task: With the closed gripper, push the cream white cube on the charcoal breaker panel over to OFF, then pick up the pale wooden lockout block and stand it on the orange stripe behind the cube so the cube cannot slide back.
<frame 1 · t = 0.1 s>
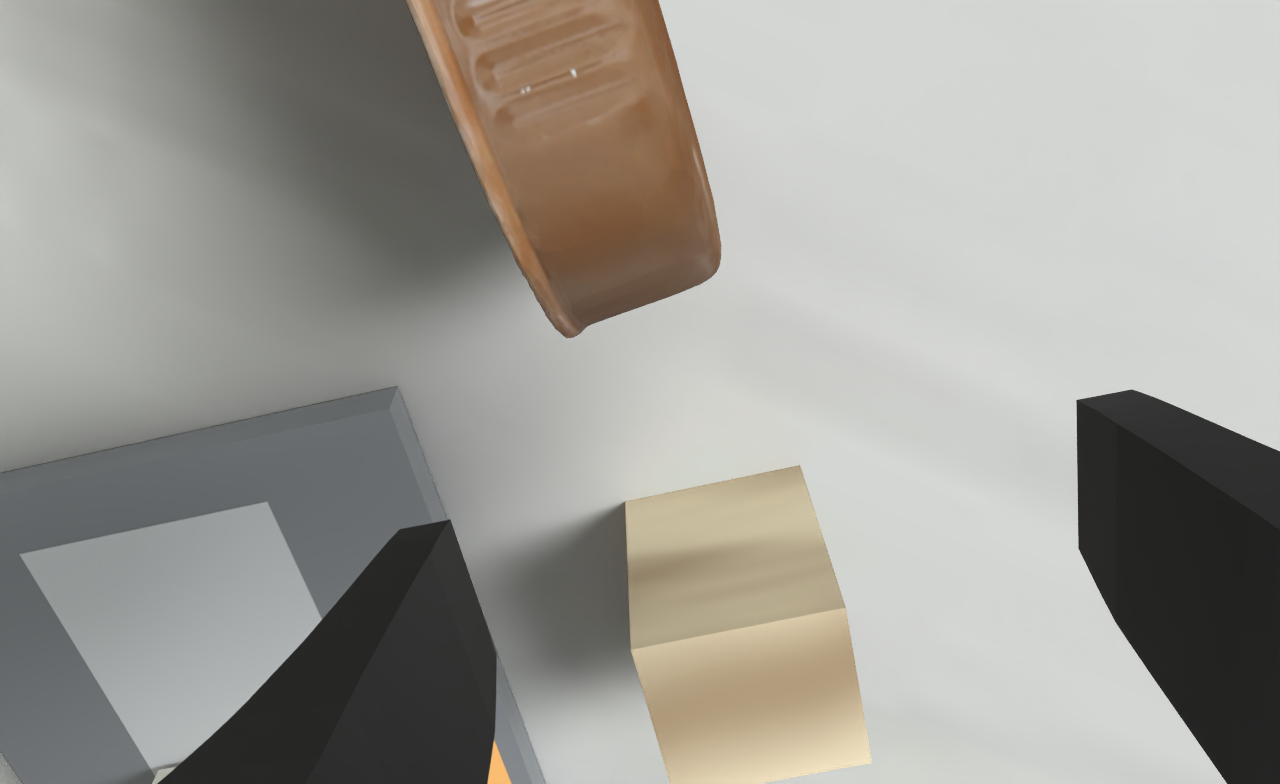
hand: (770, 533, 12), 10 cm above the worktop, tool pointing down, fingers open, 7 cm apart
breaker panel: (278, 728, 27), on the worktop
lockout block: (727, 553, 25), on the worktop
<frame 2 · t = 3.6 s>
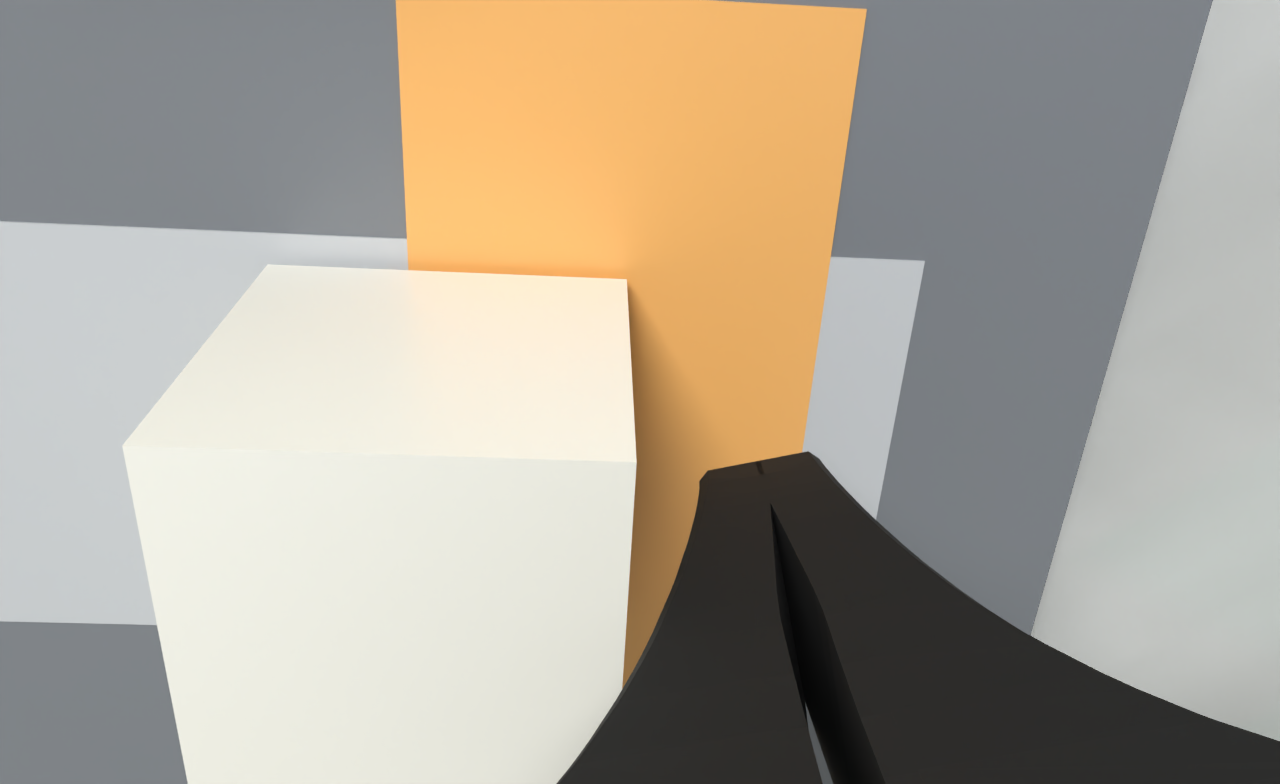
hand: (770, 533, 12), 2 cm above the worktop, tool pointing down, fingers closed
breaker panel: (421, 414, 14), on the worktop
cream white cube: (430, 560, 11), point 3 cm above the worktop, slide at 0.9 cm, touching gripper
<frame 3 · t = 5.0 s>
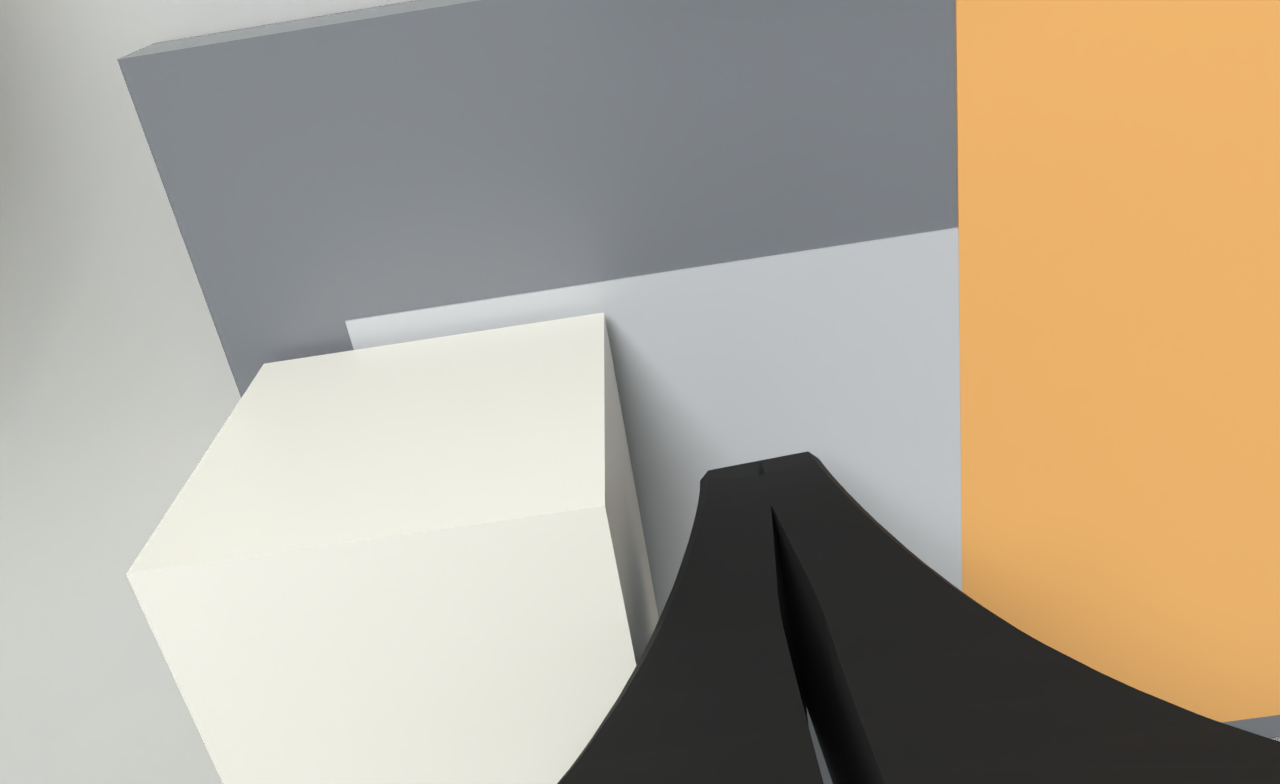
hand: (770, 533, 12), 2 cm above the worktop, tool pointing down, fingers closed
breaker panel: (930, 402, 14), on the worktop
cream white cube: (461, 619, 12), point 3 cm above the worktop, slide at 7.5 cm, touching gripper
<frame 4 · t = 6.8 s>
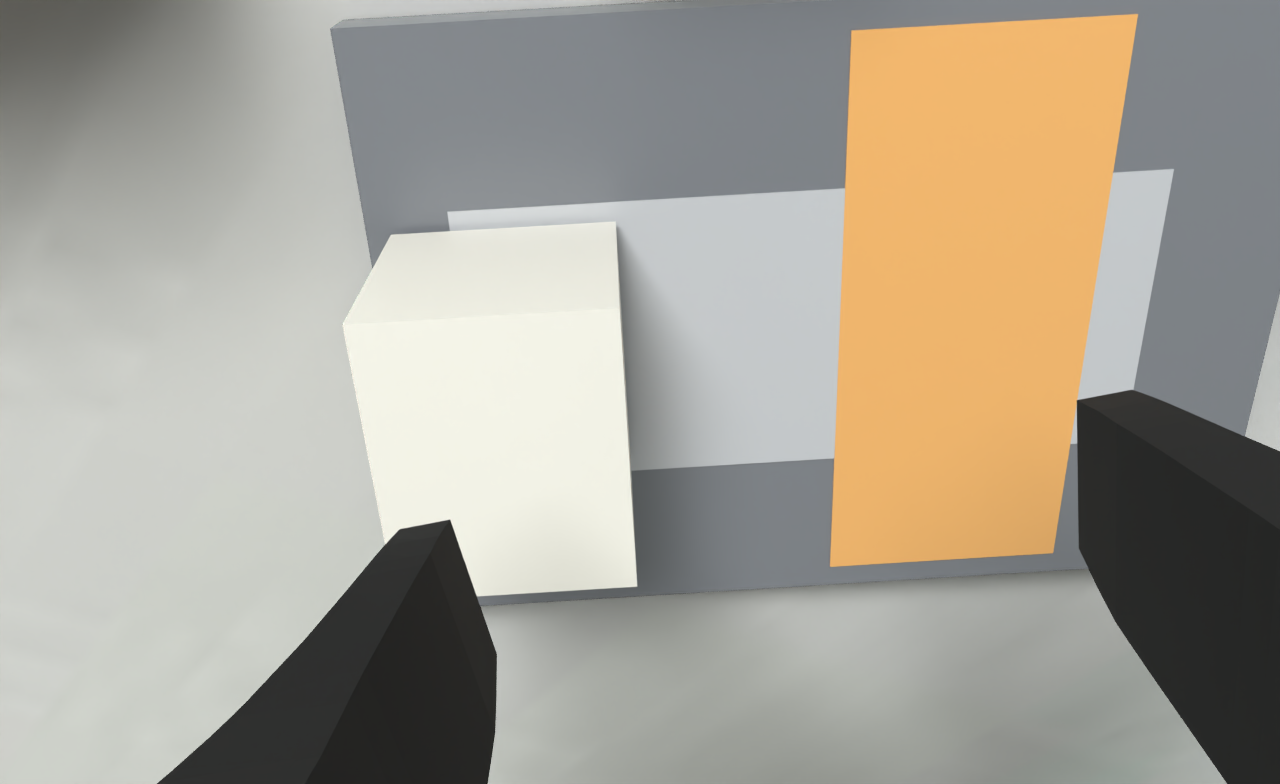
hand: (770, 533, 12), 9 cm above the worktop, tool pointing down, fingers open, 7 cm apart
breaker panel: (823, 311, 21), on the worktop
cream white cube: (509, 404, 18), point 3 cm above the worktop, slide at 7.5 cm
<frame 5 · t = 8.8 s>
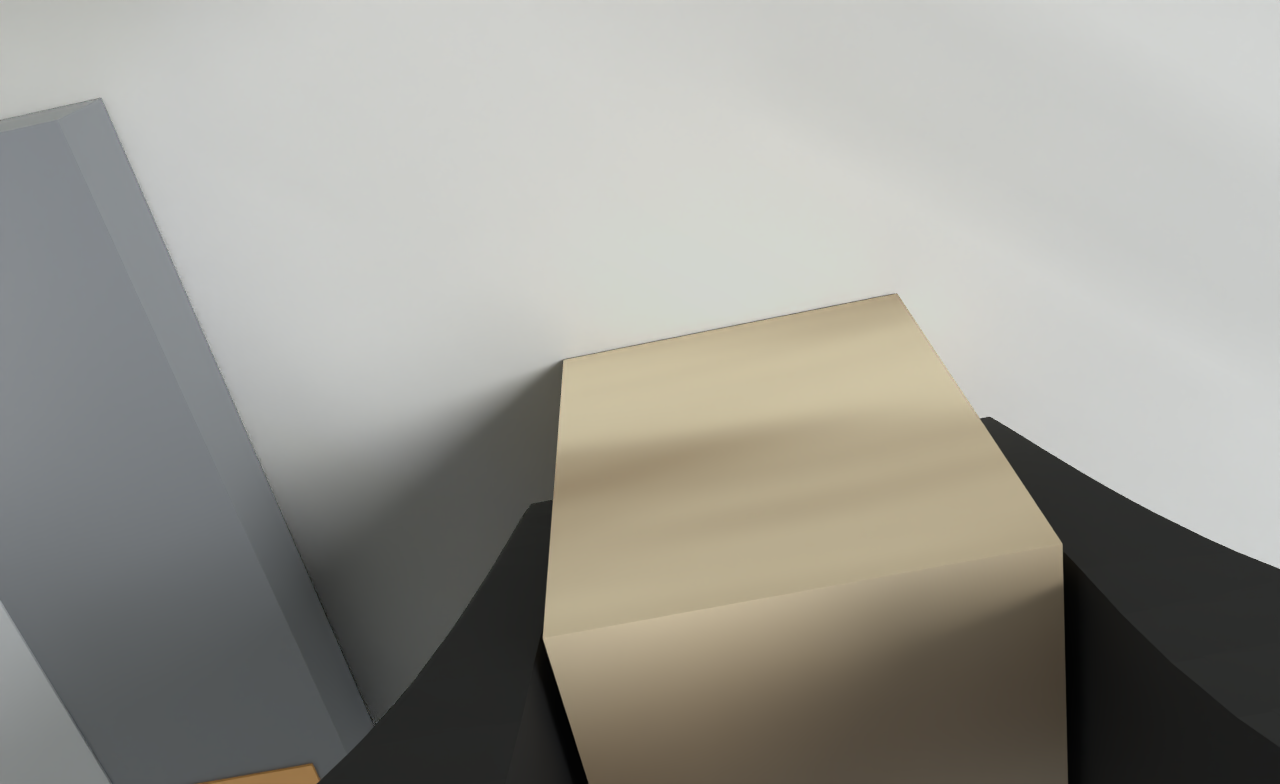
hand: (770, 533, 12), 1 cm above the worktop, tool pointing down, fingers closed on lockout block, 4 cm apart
lockout block: (754, 468, 13), on the worktop, touching gripper
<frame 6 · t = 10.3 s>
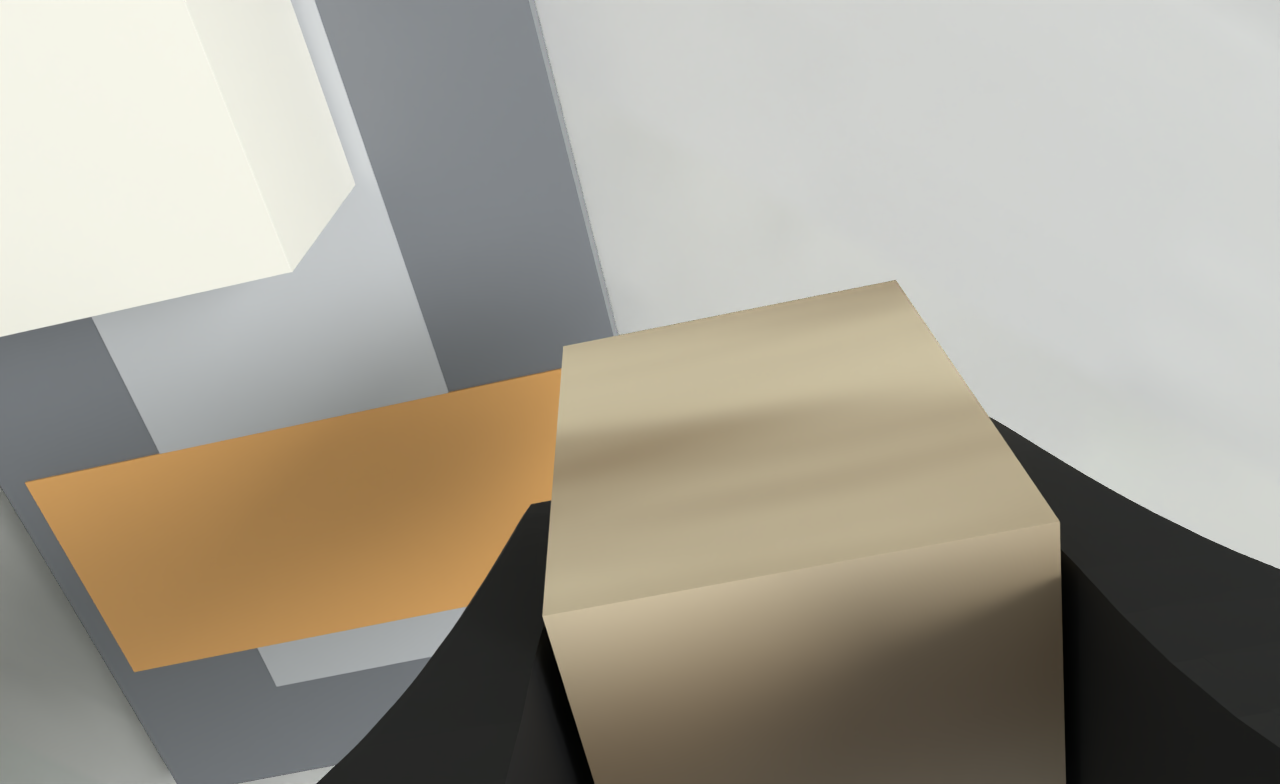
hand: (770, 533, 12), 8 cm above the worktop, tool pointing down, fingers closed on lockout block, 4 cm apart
breaker panel: (314, 393, 20), on the worktop
cream white cube: (108, 128, 15), point 3 cm above the worktop, slide at 7.5 cm
lockout block: (753, 455, 13), point 7 cm above the worktop, touching gripper
when the fingers open (4 cm above the worktop, at t = 12.1 s): lockout block drops 1 cm, resting on breaker panel.
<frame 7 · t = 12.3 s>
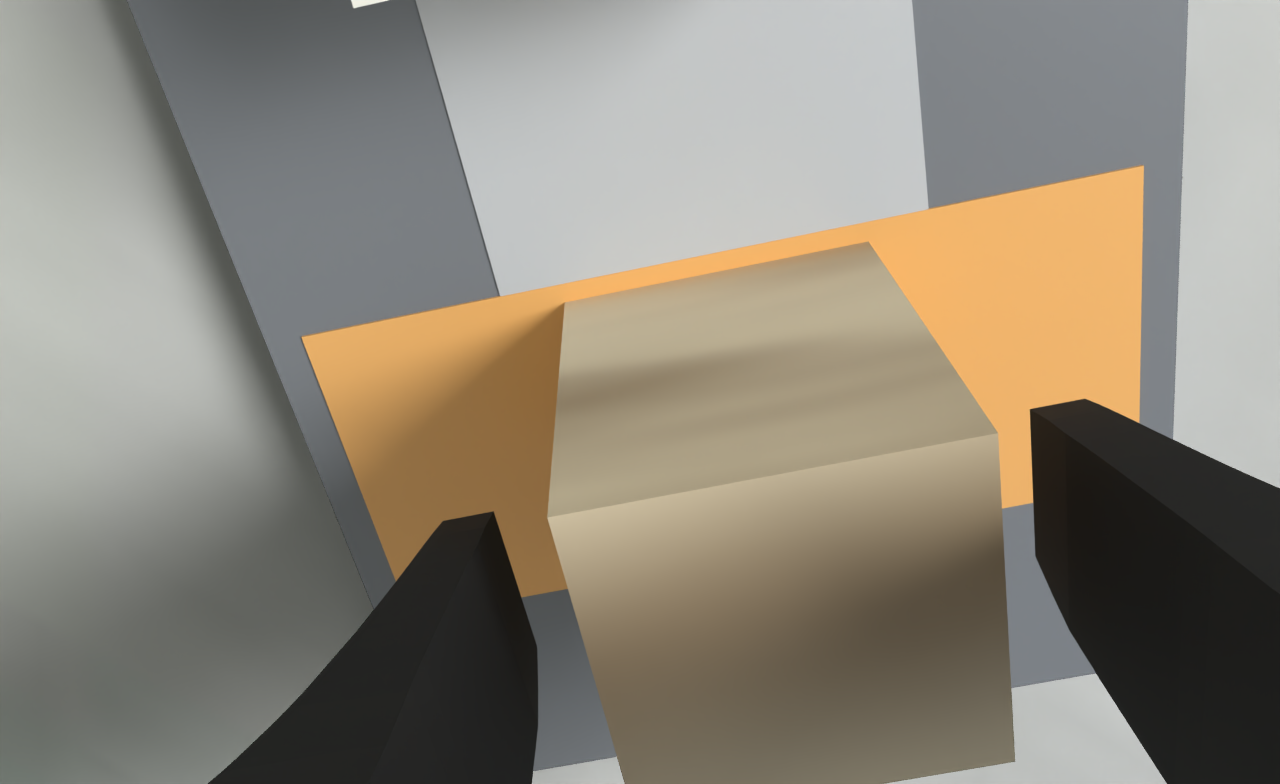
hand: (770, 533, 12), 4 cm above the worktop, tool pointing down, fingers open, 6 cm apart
breaker panel: (703, 220, 14), on the worktop
lockout block: (739, 405, 15), point 1 cm above the worktop, touching breaker panel
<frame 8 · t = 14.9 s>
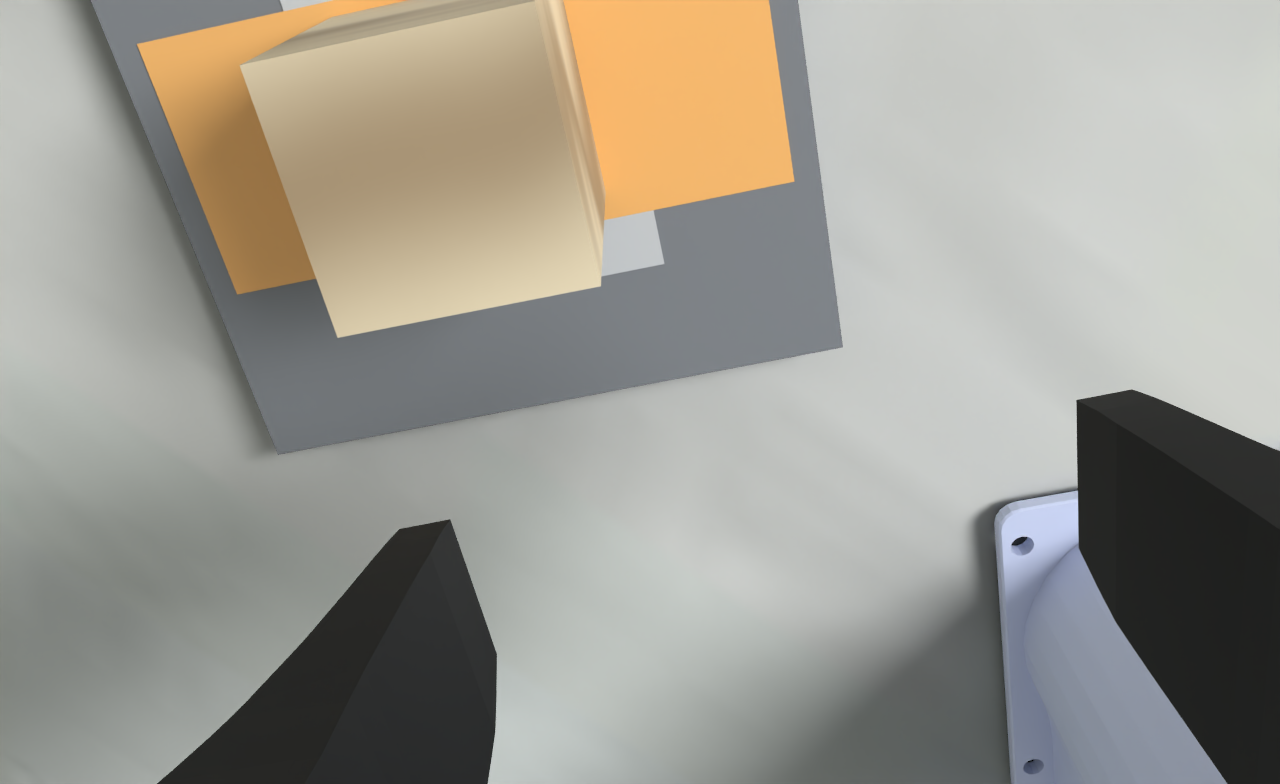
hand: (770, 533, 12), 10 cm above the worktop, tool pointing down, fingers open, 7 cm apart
lockout block: (474, 107, 19), point 1 cm above the worktop, touching breaker panel
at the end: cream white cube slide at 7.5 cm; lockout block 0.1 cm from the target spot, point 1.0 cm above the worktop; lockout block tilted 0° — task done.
